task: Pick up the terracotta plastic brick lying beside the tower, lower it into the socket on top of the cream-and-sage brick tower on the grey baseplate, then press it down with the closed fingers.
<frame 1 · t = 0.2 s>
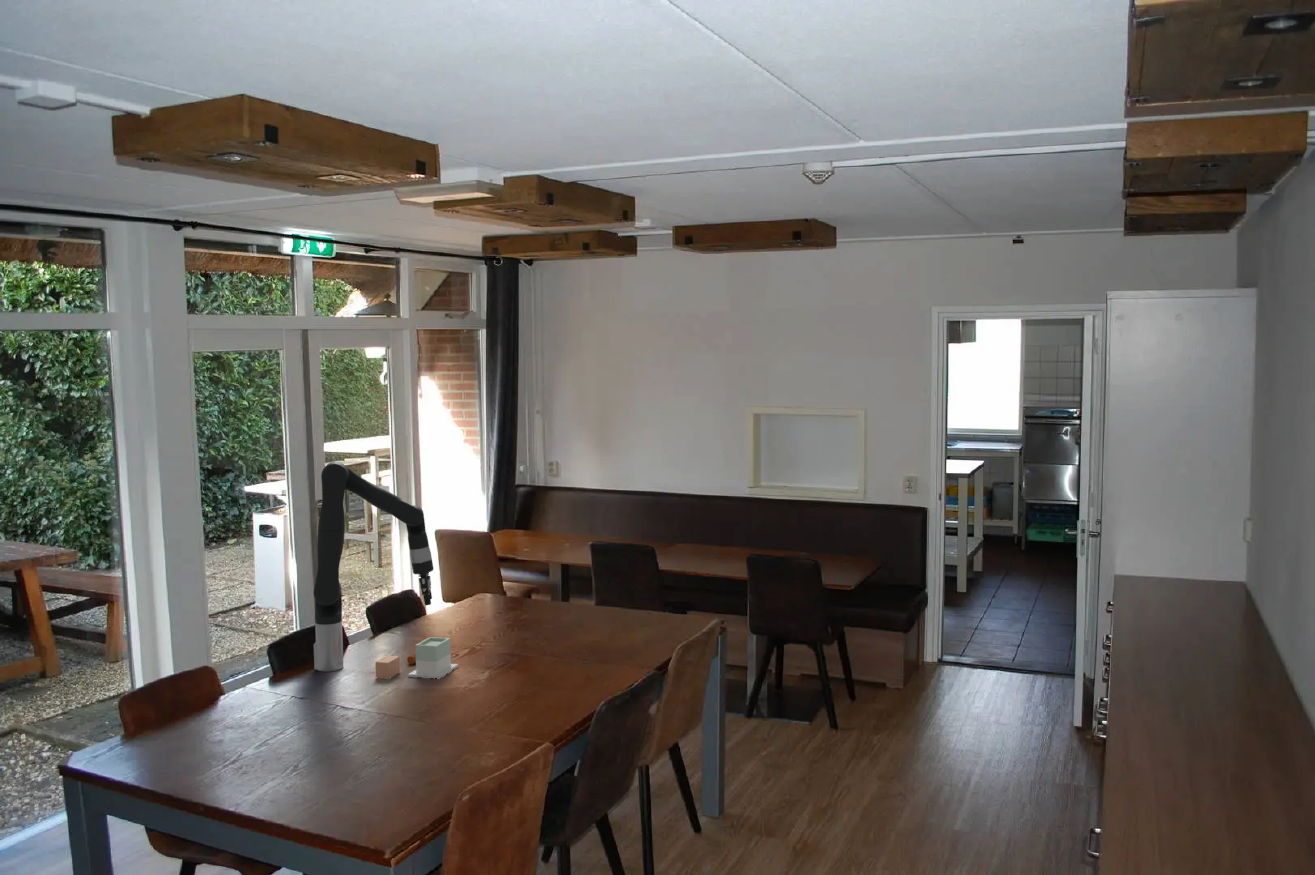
hand: (428, 602, 388), 22 cm above the table, tool pointing down, fingers open, 8 cm apart
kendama: (427, 658, 395), on the table
brick: (388, 675, 372), on the table
tower: (433, 671, 376), on the table
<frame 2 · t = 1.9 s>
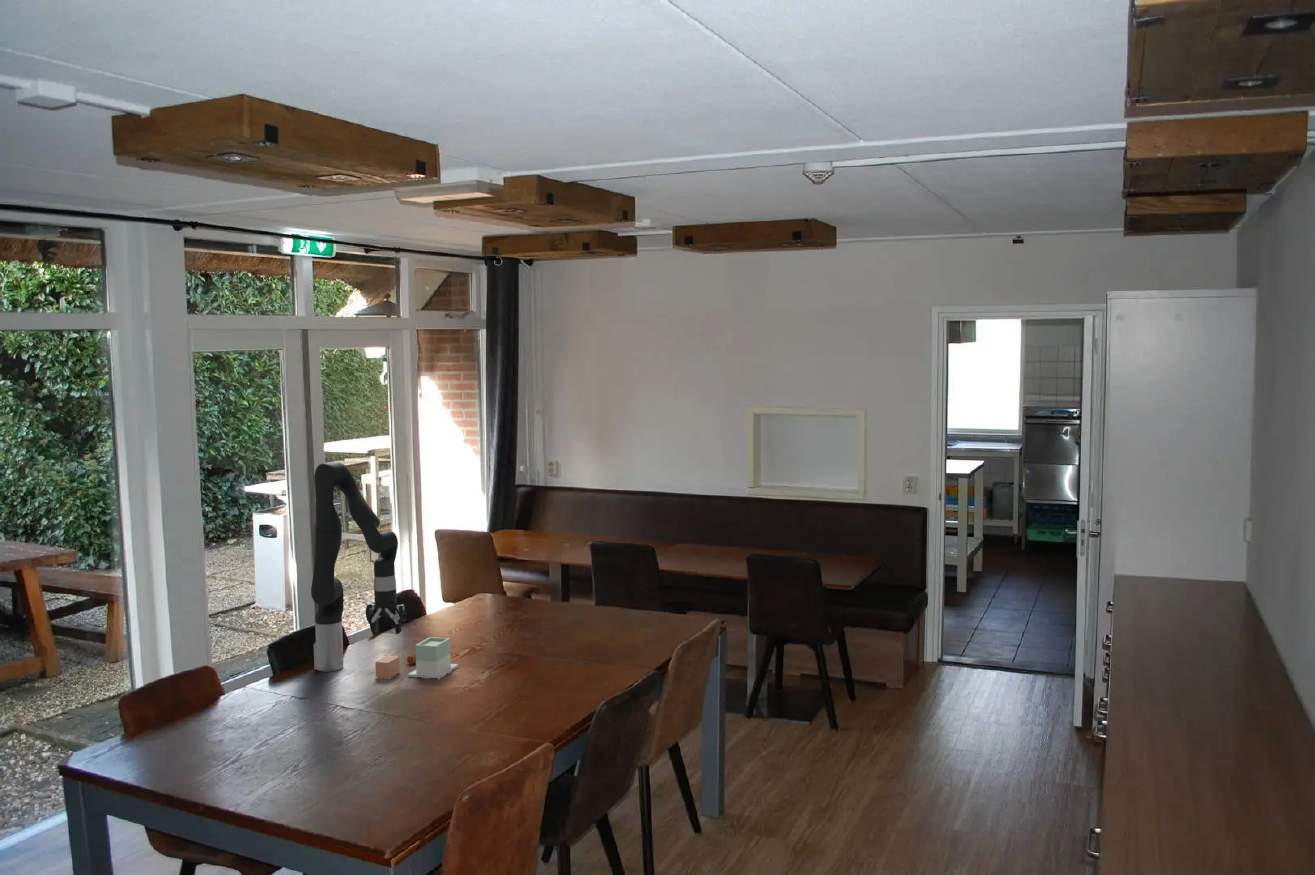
hand: (387, 633, 371), 15 cm above the table, tool pointing down, fingers open, 8 cm apart
nothing on the table moved.
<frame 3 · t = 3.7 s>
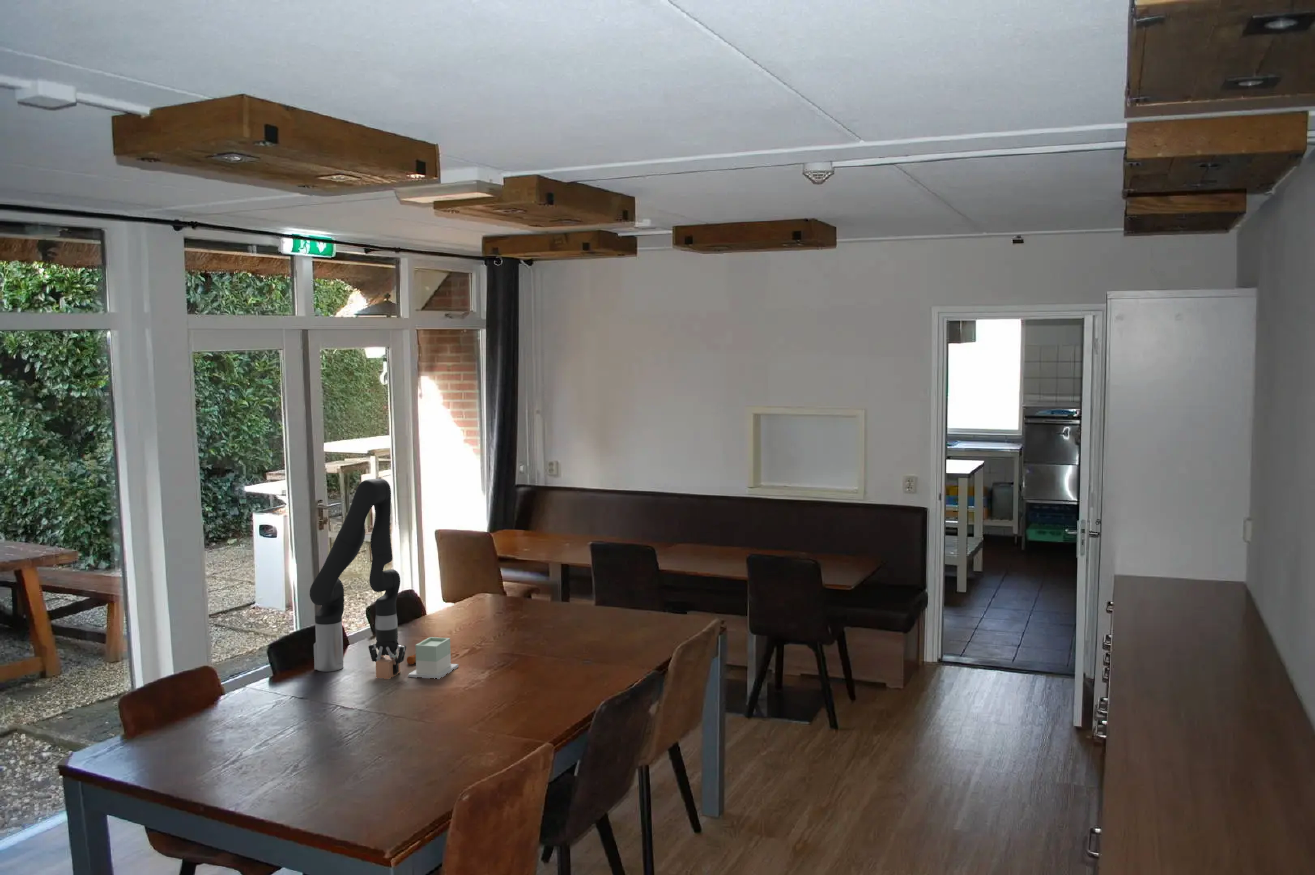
hand: (388, 673, 372), 1 cm above the table, tool pointing down, fingers closed on brick, 5 cm apart
brick: (388, 675, 372), on the table, touching gripper
everything else where it was.
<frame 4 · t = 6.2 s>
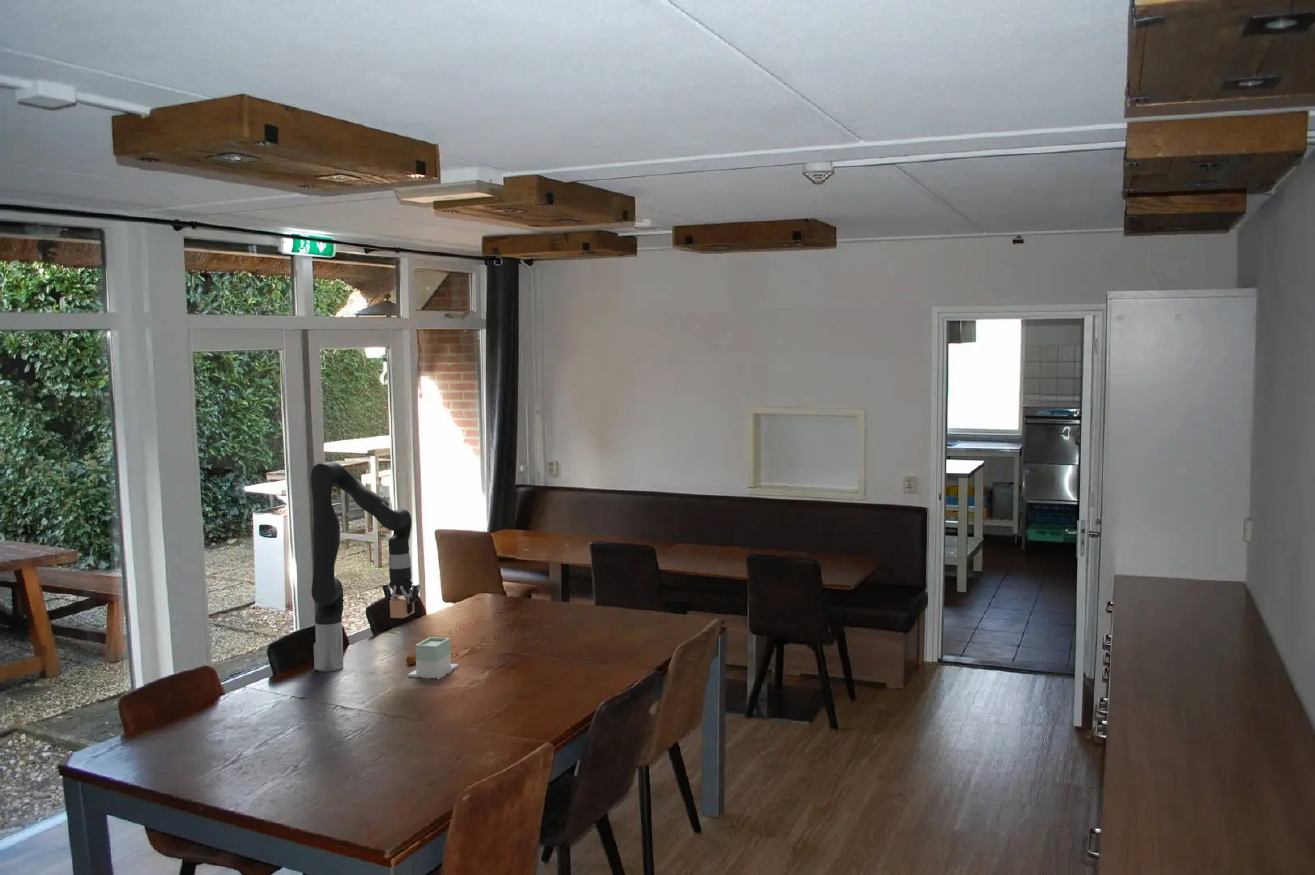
hand: (402, 613, 372), 22 cm above the table, tool pointing down, fingers closed on brick, 5 cm apart
brick: (402, 615, 372), point 21 cm above the table, touching gripper
everything else where it was.
when the fingers open (13 cm above the table, at t = 8.7 s): brick drops 2 cm, resting on tower.
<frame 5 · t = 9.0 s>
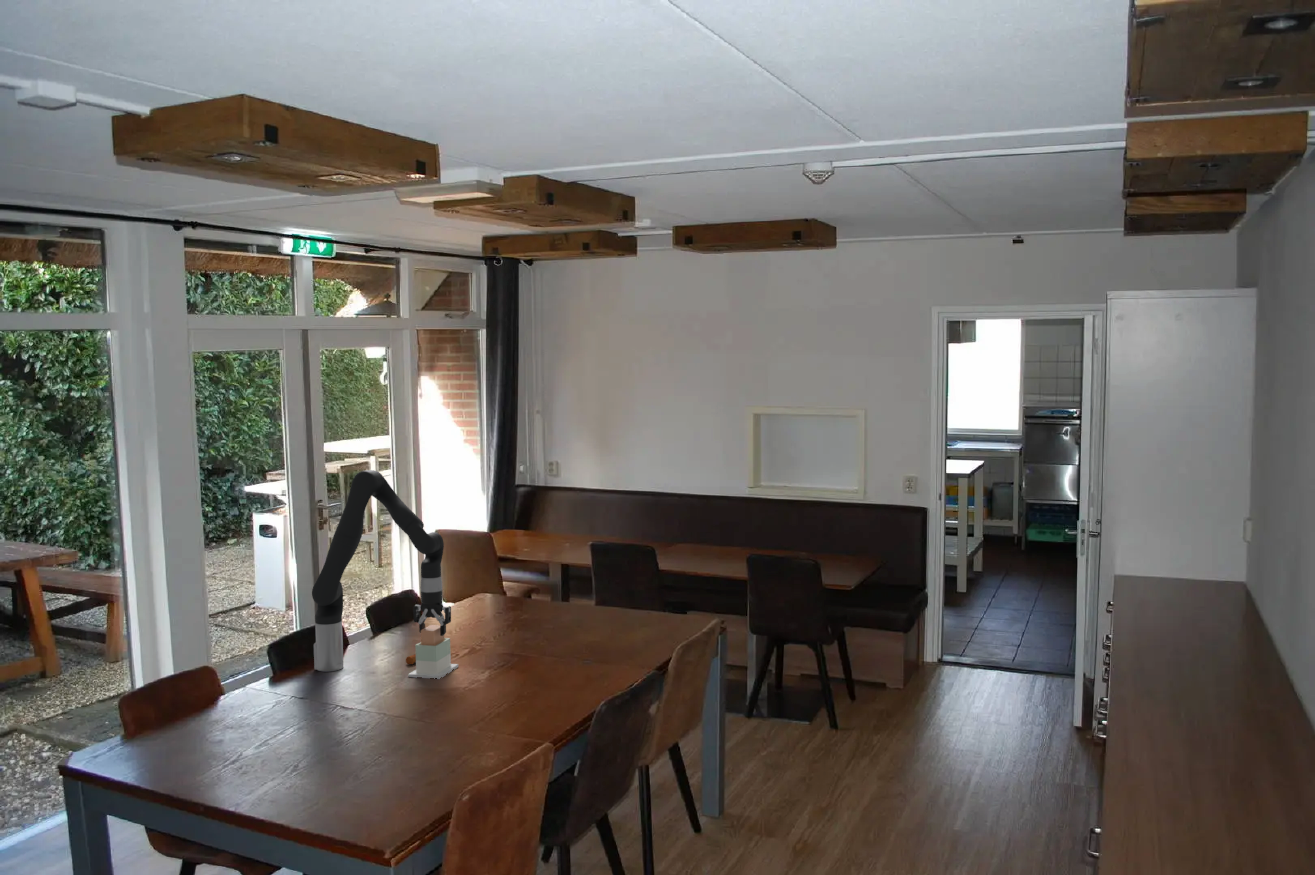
hand: (432, 634, 375), 14 cm above the table, tool pointing down, fingers open, 7 cm apart
brick: (432, 644, 375), point 10 cm above the table, touching tower
everything else where it was.
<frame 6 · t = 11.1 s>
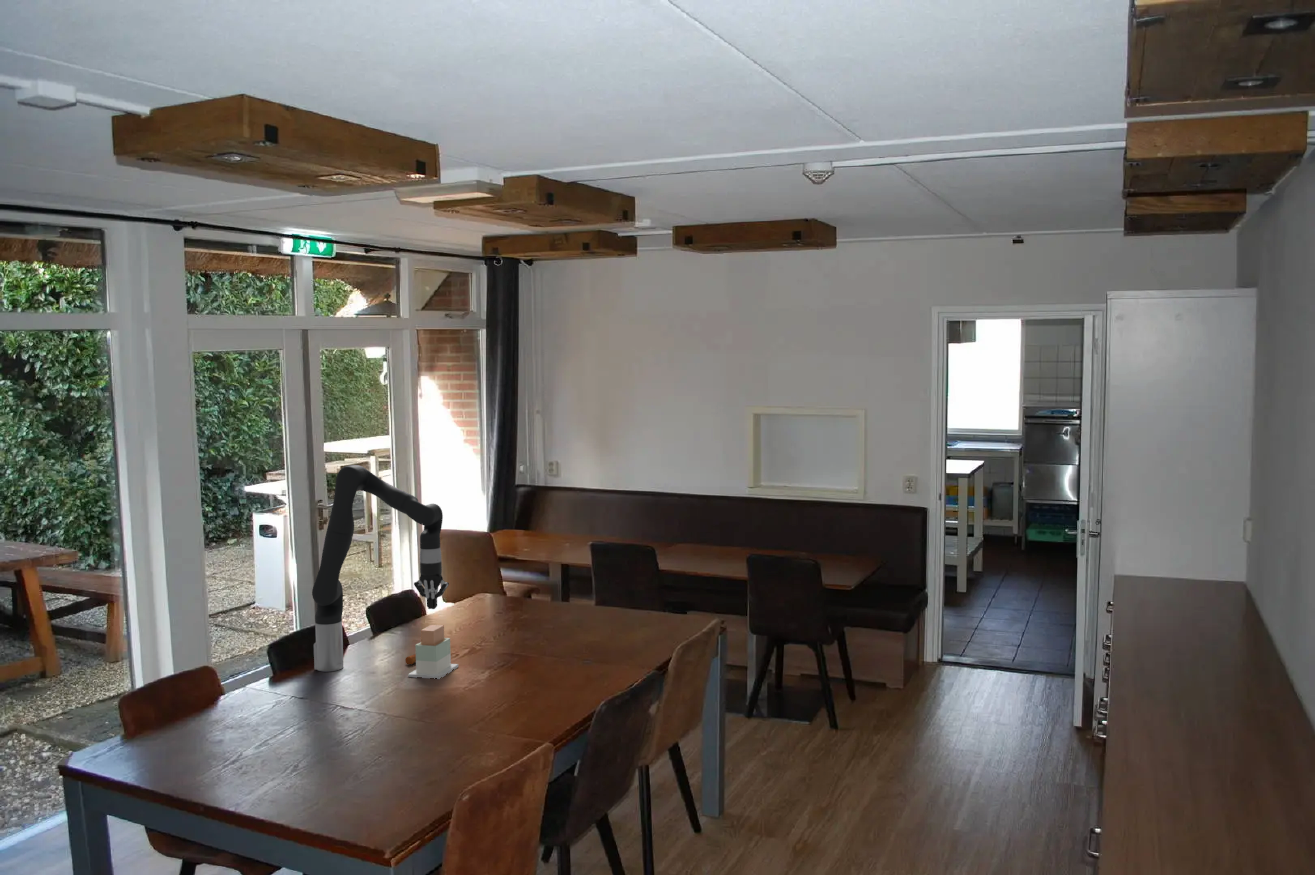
hand: (432, 608, 374), 23 cm above the table, tool pointing down, fingers closed
nothing on the table moved.
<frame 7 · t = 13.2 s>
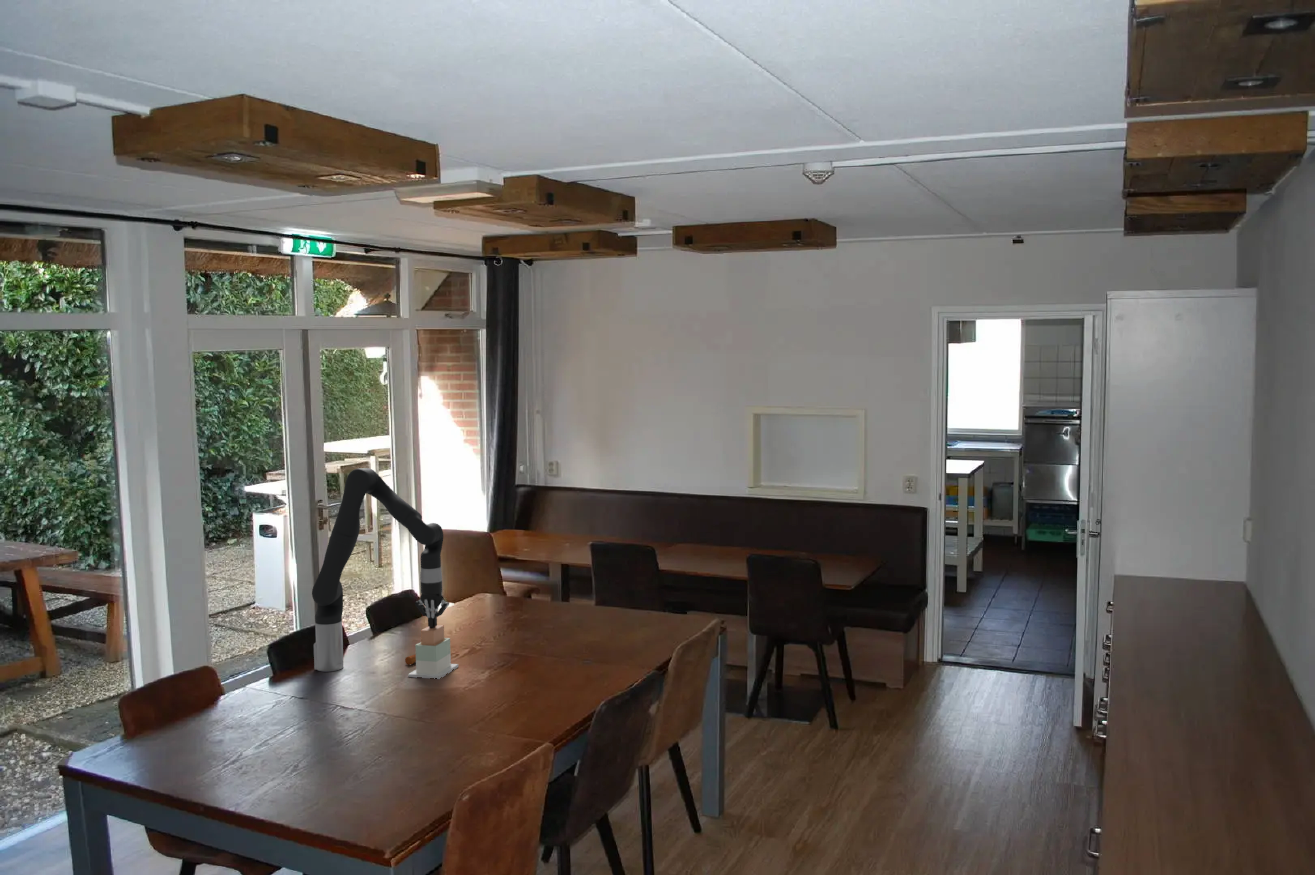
hand: (432, 627, 375), 16 cm above the table, tool pointing down, fingers closed
brick: (432, 644, 375), point 10 cm above the table, touching gripper, tower
everything else where it was.
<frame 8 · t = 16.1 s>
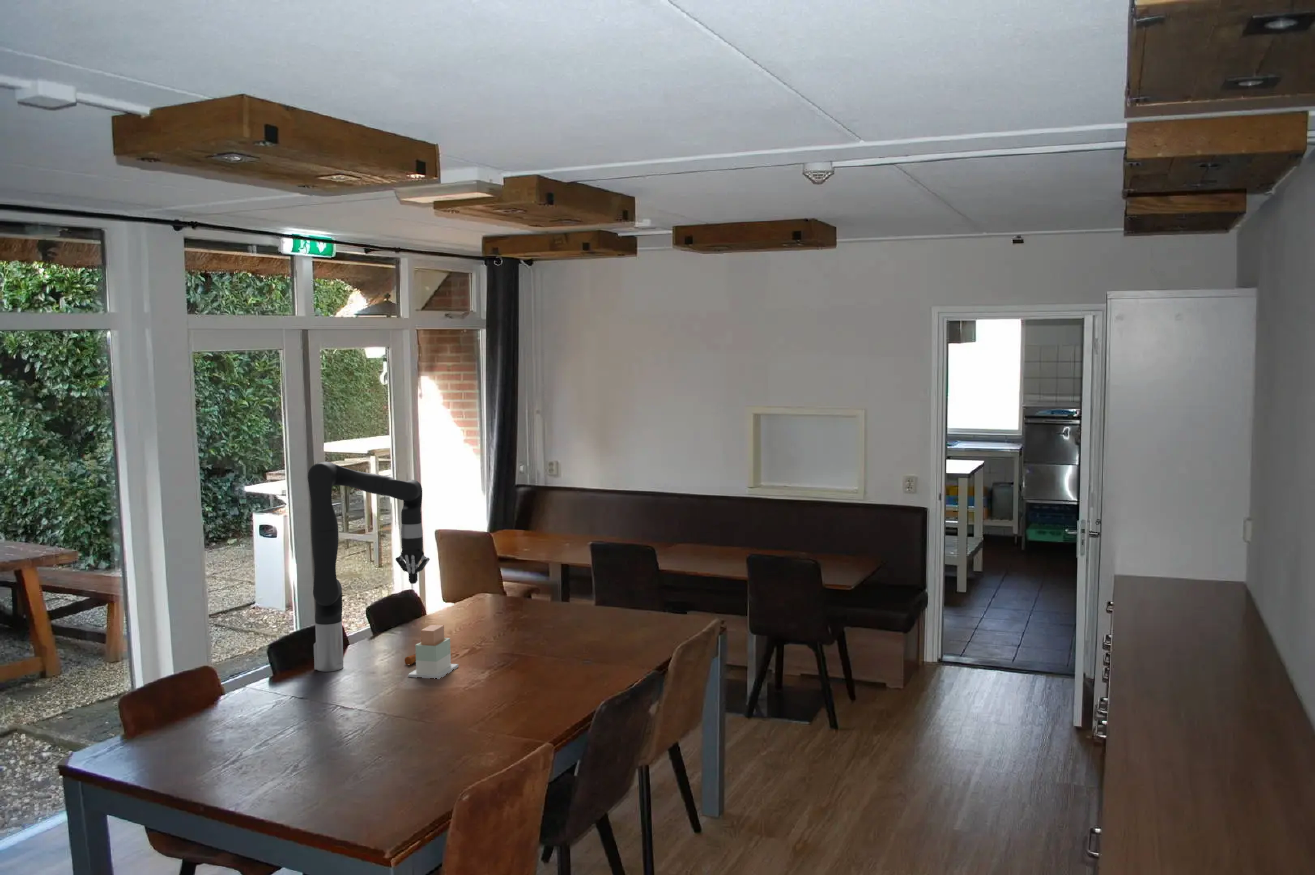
hand: (413, 583, 379), 31 cm above the table, tool pointing down, fingers closed
brick: (432, 644, 375), point 10 cm above the table, touching tower
at the end: brick 0.1 cm off-centre on the tower, point 10.0 cm above the tower's base; brick tilted 0°; the gripper is holding nothing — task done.
